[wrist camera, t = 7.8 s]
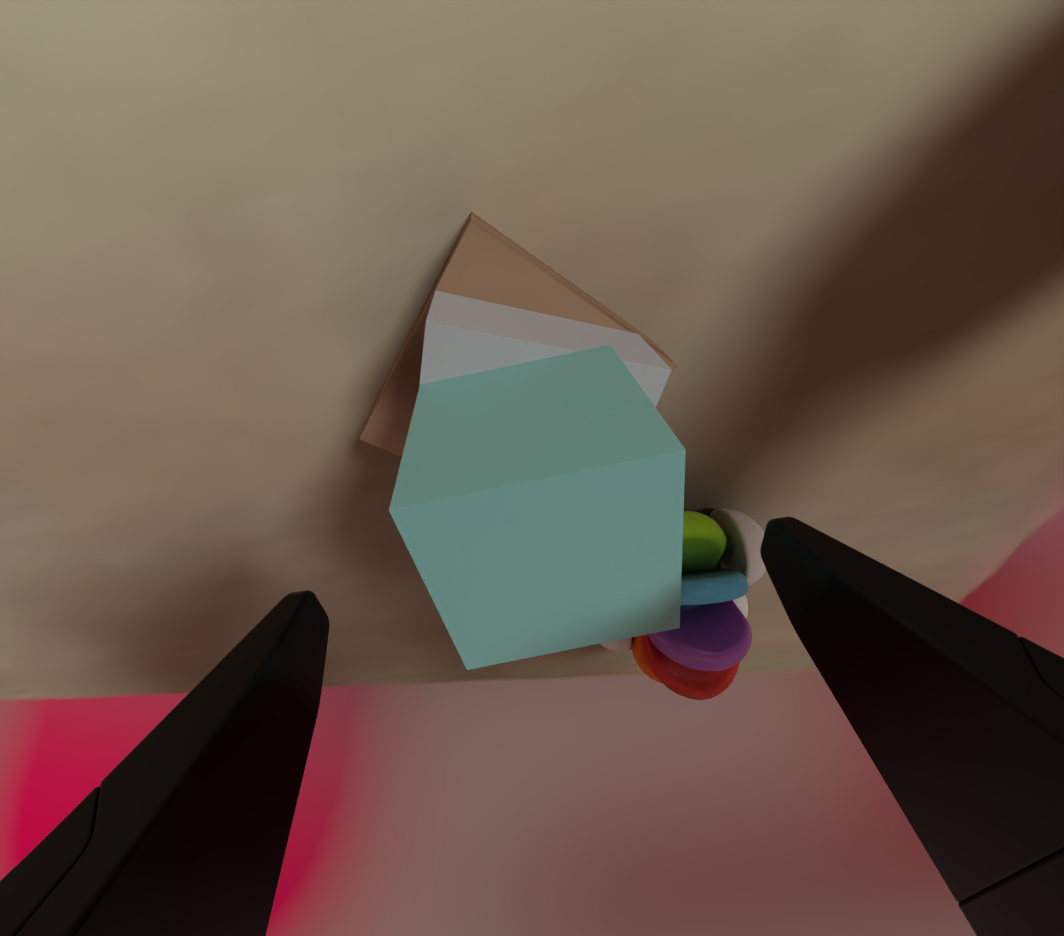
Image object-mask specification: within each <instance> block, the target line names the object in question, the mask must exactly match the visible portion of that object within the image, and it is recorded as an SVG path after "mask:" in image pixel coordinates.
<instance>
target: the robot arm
mask: <svg viewBox="0 0 1064 936" xmlns="http://www.w3.org/2000/svg"><path fill="white" fill-rule="evenodd" d="M760 553H761V558H762V561H763V563H764V565H765V567H766V570H767V572H768V574H769V576H770V578H771V580H772V583H773V585H774V587H775V589H776V591H777V593H778V596H779V598H780V600H781V602H782V604H783V606H784V609H785V611H786V613H787V615H788V617H789V619H790V621H791V623H792V625H793V627H794V629H795V631H796V633H797V635H798V636H799V638H800V640H801V642H802V643H803V645H804V647H805V648H806V650H807V652H808V653H809V655H810V657H811V658H812V660H813V662H814V663H815V665H816V667H817V668H818V670H819V672H820V673H821V675H822V677H823V678H824V680H825V682H826V683H827V685H828V687H829V688H830V690H831V692H832V693H833V695H834V697H835V699H836V700H837V702H838V703H839V705H840V707H841V709H842V710H843V712H844V714H845V715H846V717H847V719H848V720H849V722H850V724H851V725H852V727H853V729H854V730H855V732H856V734H857V735H858V737H859V739H860V740H861V742H862V744H863V745H864V747H865V749H866V750H867V752H868V754H869V755H870V757H871V759H872V760H873V762H874V764H875V766H876V767H877V769H878V771H879V772H880V774H881V776H882V777H883V779H884V781H885V782H886V784H887V785H888V787H889V789H890V790H891V792H892V794H893V796H894V797H895V799H896V800H897V802H898V804H899V806H900V807H901V809H902V811H903V812H904V814H905V816H906V817H907V819H908V821H909V822H910V824H911V826H912V827H913V829H914V831H915V832H916V834H917V836H918V837H919V839H920V841H921V842H922V844H923V846H924V848H925V849H926V851H927V853H928V854H929V856H930V858H931V859H932V861H933V863H934V864H935V866H936V868H937V869H938V871H939V872H940V874H941V876H942V878H943V879H944V881H945V882H946V884H947V886H948V888H949V889H950V891H951V893H952V894H953V896H954V898H955V899H956V901H958V902H959V907H960V908H961V910H962V912H963V914H964V915H965V917H966V919H967V920H968V922H969V923H970V925H971V927H972V929H973V930H974V932H975V934H976V935H977V936H1064V658H1062V657H1060V656H1059V655H1056V654H1055V653H1053V652H1050V651H1049V650H1047V649H1044V648H1043V647H1041V646H1039V645H1037V644H1035V643H1033V642H1032V641H1029V640H1028V639H1026V638H1024V637H1018V636H1017V634H1016V633H1014V632H1012V631H1010V630H1008V629H1006V628H1004V627H1002V626H1001V625H999V624H997V623H995V622H993V621H991V620H989V619H987V618H985V617H983V616H981V615H979V614H978V613H975V612H974V611H972V610H970V609H968V608H966V607H964V606H962V605H960V604H958V603H956V602H955V601H953V600H951V599H949V598H947V597H945V596H943V595H941V594H939V593H937V592H935V591H933V590H932V589H930V588H928V587H926V586H924V585H922V584H920V583H918V582H916V581H914V580H912V579H910V578H909V577H907V576H905V575H903V574H901V573H899V572H897V571H895V570H893V569H891V568H889V567H887V566H886V565H884V564H882V563H880V562H878V561H876V560H874V559H872V558H870V557H868V556H866V555H864V554H863V553H861V552H859V551H857V550H855V549H853V548H851V547H849V546H847V545H845V544H843V543H841V542H840V541H838V540H836V539H834V538H832V537H830V536H828V535H826V534H824V533H822V532H820V531H818V530H817V529H815V528H813V527H811V526H809V525H807V524H805V523H803V522H801V521H799V520H797V519H795V518H793V517H783V518H777V519H772V520H770V521H769V522H768V523H767V526H766V530H765V533H764V537H763V540H762V544H761V548H760ZM328 633H329V619H328V616H327V614H326V612H325V610H324V609H323V607H322V605H321V604H320V602H319V601H318V599H317V597H316V596H315V594H314V593H313V592H312V591H308V590H307V591H300V592H293V593H290V594H288V595H286V596H285V597H284V598H283V599H282V600H281V601H280V602H279V603H278V604H277V605H276V606H275V607H274V608H273V609H272V610H271V611H270V612H269V613H268V614H267V615H266V616H265V617H264V618H263V619H262V620H261V621H260V622H259V623H258V624H257V625H256V626H255V627H254V628H253V629H252V630H251V631H250V632H249V633H248V634H247V635H246V636H245V637H244V638H243V639H242V640H241V641H240V642H239V643H238V644H237V645H236V646H235V647H234V648H233V649H232V650H231V651H230V652H229V653H228V654H227V655H226V656H225V657H224V658H223V659H222V660H221V661H220V662H219V664H218V665H217V666H216V667H215V668H214V669H213V670H212V671H211V672H210V673H209V674H208V675H207V676H206V677H205V678H204V679H203V680H202V681H201V682H200V683H199V684H198V685H197V686H196V687H195V688H194V689H193V690H192V691H191V692H190V693H189V694H188V695H187V696H186V697H185V698H184V699H183V700H182V701H181V702H180V703H179V704H178V705H177V706H176V707H175V708H174V709H173V710H172V711H171V712H170V713H169V714H168V715H167V716H166V717H165V718H164V719H163V720H162V721H161V722H160V723H159V724H158V725H157V726H156V727H155V728H154V729H153V730H152V731H151V732H150V733H149V734H148V735H147V736H146V737H145V738H144V739H143V740H142V741H141V742H140V743H139V744H138V745H137V746H136V747H135V748H134V749H133V750H132V751H131V752H130V753H129V754H128V756H127V757H125V759H124V760H122V762H121V763H120V764H119V765H118V766H117V767H116V768H115V769H114V770H113V771H112V772H111V773H110V774H109V775H108V776H107V777H106V778H105V779H104V780H103V781H102V782H101V786H100V787H96V788H95V789H94V790H93V791H92V792H91V793H90V794H89V795H88V796H87V797H86V798H85V799H84V800H83V801H82V802H81V803H80V804H79V805H78V806H77V807H76V808H75V809H74V810H73V811H72V812H71V813H70V814H69V815H68V816H67V817H66V818H65V819H64V820H63V821H62V822H61V823H60V824H59V825H58V826H57V827H56V828H55V829H54V830H53V831H52V832H51V833H50V834H48V835H47V836H46V838H45V839H43V840H42V841H41V842H40V843H39V844H38V846H36V847H35V848H34V849H33V850H32V851H31V852H30V853H29V854H28V855H27V856H26V857H25V858H24V859H23V860H22V861H21V862H20V863H19V864H18V865H17V866H16V867H14V869H12V870H11V871H10V872H9V873H8V874H7V875H6V876H5V877H4V878H3V879H2V880H1V881H0V936H265V935H266V931H267V927H268V923H269V919H270V914H271V910H272V906H273V901H274V897H275V893H276V889H277V884H278V880H279V876H280V872H281V867H282V863H283V859H284V855H285V850H286V846H287V842H288V838H289V833H290V829H291V825H292V821H293V816H294V812H295V807H296V803H297V799H298V795H299V791H300V787H301V782H302V778H303V774H304V769H305V765H306V761H307V757H308V752H309V748H310V744H311V740H312V735H313V731H314V727H315V723H316V718H317V713H318V709H319V703H320V697H321V690H322V682H323V674H324V666H325V658H326V650H327V641H328Z"/></svg>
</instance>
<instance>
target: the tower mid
mask: <svg viewBox="0 0 1064 936" xmlns="http://www.w3.org/2000/svg"><path fill="white" fill-rule="evenodd" d="M606 345H611V346H612V347H613V349H614V350H615V352H616V353H617V354H618V356H619V357H620V359H621V360H622V361H623V363H624V364H625V366H626V367H627V368H628V370H629V371H630V373H631V374H632V375H633V377H634V378H635V380H636V381H637V382H638V384H639V385H640V387H641V388H642V389H643V391H644V392H645V394H646V395H647V396H648V398H649V399H650V401H651V402H652V403H653V405H654V406H655V408H656V406H657V403H658V401H659V399H660V396H661V394H662V392H663V389H664V387H665V385H666V382H667V380H668V378H669V375H670V373H671V371H672V370H671V368H670V367H669V366H668V365H667V364H666V363H665V362H664V361H663V360H662V359H661V358H660V357H659V355H658V354H657V353H656V352H655V351H654V350H653V349H652V348H651V347H650V346H649V345H648V344H647V342H646V341H645V340H644V339H643V338H642V337H641V336H640V335H639V334H637V333H632V332H627V331H622V330H617V329H613V328H608V327H603V326H599V325H594V324H589V323H585V322H580V321H575V320H571V319H566V318H561V317H557V316H552V315H547V314H543V313H538V312H533V311H529V310H524V309H519V308H515V307H510V306H505V305H501V304H496V303H491V302H487V301H482V300H477V299H473V298H468V297H463V296H459V295H454V294H449V293H445V292H440V291H435V293H434V297H433V300H432V303H431V306H430V309H429V313H428V316H427V319H426V325H425V335H424V344H423V354H422V364H421V374H420V384H425V383H430V382H434V381H439V380H444V379H449V378H453V377H458V376H463V375H468V374H472V373H477V372H482V371H487V370H491V369H496V368H501V367H506V366H511V365H515V364H520V363H525V362H530V361H534V360H539V359H544V358H549V357H553V356H558V355H563V354H568V353H572V352H577V351H582V350H587V349H591V348H596V347H601V346H606ZM420 384H419V387H420Z"/></svg>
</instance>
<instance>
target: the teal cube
mask: <svg viewBox="0 0 1064 936" xmlns="http://www.w3.org/2000/svg"><path fill="white" fill-rule="evenodd" d="M685 453H686V449H685V448H684V447H683V445H682V444H681V442H680V441H679V440H678V438H677V437H676V435H675V434H674V433H673V431H672V430H671V428H670V427H669V426H668V424H667V423H666V421H665V420H664V419H663V417H662V416H661V415H660V413H659V412H658V410H657V409H656V408H655V406H654V405H653V403H652V402H651V401H650V399H649V398H648V396H647V395H646V394H645V392H644V391H643V389H642V388H641V387H640V385H639V384H638V382H637V381H636V380H635V378H634V377H633V375H632V374H631V373H630V371H629V370H628V368H627V367H626V366H625V364H624V363H623V361H622V360H621V359H620V357H619V356H618V354H617V353H616V352H615V350H614V349H613V347H612V346H611V345H606V346H601V347H596V348H591V349H587V350H582V351H577V352H572V353H568V354H563V355H558V356H553V357H549V358H544V359H539V360H534V361H530V362H525V363H520V364H515V365H511V366H506V367H501V368H496V369H491V370H487V371H482V372H477V373H472V374H468V375H463V376H458V377H453V378H449V379H444V380H439V381H434V382H430V383H425V384H420V387H419V391H418V395H417V399H416V403H415V407H414V411H413V415H412V419H411V423H410V427H409V431H408V435H407V439H406V443H405V447H404V451H403V455H402V459H401V463H400V467H399V471H398V475H397V479H396V483H395V487H394V491H393V495H392V499H391V503H390V507H389V512H390V514H391V516H392V518H393V520H394V522H395V524H396V526H397V528H398V530H399V532H400V534H401V537H402V539H403V541H404V543H405V545H406V547H407V549H408V551H409V553H410V555H411V557H412V559H413V561H414V563H415V565H416V567H417V569H418V571H419V573H420V575H421V577H422V579H423V581H424V583H425V585H426V587H427V589H428V592H429V594H430V596H431V598H432V600H433V602H434V604H435V606H436V608H437V610H438V612H439V614H440V616H441V618H442V620H443V622H444V624H445V626H446V628H447V630H448V632H449V634H450V636H451V638H452V640H453V642H454V645H455V647H456V649H457V651H458V653H459V655H460V657H461V659H462V661H463V663H464V665H465V667H466V669H467V670H470V669H475V668H480V667H485V666H490V665H495V664H500V663H505V662H510V661H515V660H520V659H525V658H530V657H535V656H541V655H546V654H551V653H556V652H561V651H566V650H571V649H576V648H581V647H586V646H591V645H596V644H601V643H606V642H611V641H616V640H621V639H627V638H632V637H637V636H642V635H647V634H652V633H657V632H662V631H667V630H672V629H677V628H680V603H681V573H682V543H683V513H684V483H685Z"/></svg>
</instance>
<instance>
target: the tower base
mask: <svg viewBox="0 0 1064 936" xmlns="http://www.w3.org/2000/svg"><path fill="white" fill-rule="evenodd" d="M435 291H440V292H445V293H449V294H454V295H459V296H463V297H468V298H473V299H477V300H482V301H487V302H491V303H496V304H501V305H505V306H510V307H515V308H519V309H524V310H529V311H533V312H538V313H543V314H547V315H552V316H557V317H561V318H566V319H571V320H575V321H580V322H585V323H589V324H594V325H599V326H603V327H608V328H613V329H617V330H622V331H627V332H632V333H637V334H639V335H640V336H641V337H642V338H643V339H644V340H645V341H646V342H647V344H648V345H649V346H650V347H651V348H652V349H653V350H654V351H655V352H656V353H657V354H658V355H659V357H660V358H661V359H662V360H663V361H664V362H665V363H666V364H667V365H668V366H669V367H670V368H671V370H672V371H673V370H674V369H675V368H676V367H677V365H676V364H675V363H674V362H673V361H672V360H671V359H670V358H669V357H668V356H667V355H666V354H665V353H664V352H663V351H662V350H661V349H660V348H659V347H658V345H657V344H656V343H655V342H654V341H653V340H651V339H650V338H649V337H647V336H646V335H644V334H643V333H642V332H640V331H639V330H637V329H636V328H634V327H633V326H632V325H630V324H629V323H627V322H626V321H625V320H623V319H622V318H620V317H619V316H618V315H616V314H615V313H613V312H612V311H611V310H609V309H608V308H606V307H605V306H604V305H602V304H601V303H599V302H598V301H596V300H595V299H594V298H592V297H591V296H589V295H588V294H587V293H585V292H584V291H582V290H581V289H580V288H578V287H577V286H575V285H574V284H573V283H571V282H570V281H568V280H567V279H566V278H564V277H563V276H561V275H560V274H558V273H557V272H556V271H554V270H553V269H551V268H550V267H549V266H547V265H546V264H544V263H543V262H542V261H540V260H539V259H537V258H536V257H535V256H533V255H532V254H530V253H529V252H528V251H526V250H525V249H523V248H522V247H520V246H519V245H518V244H516V243H515V242H513V241H512V240H511V239H509V238H508V237H506V236H505V235H504V234H502V233H501V232H499V231H498V230H497V229H495V228H494V227H492V226H491V225H489V224H488V223H487V222H485V221H484V220H482V219H481V218H480V217H478V216H477V215H475V214H474V213H473V212H471V214H470V216H469V218H468V220H467V222H466V224H465V226H464V228H463V230H462V232H461V234H460V236H459V238H458V240H457V242H456V244H455V246H454V248H453V249H452V251H451V253H450V255H449V257H448V259H447V261H446V263H445V265H444V267H443V269H442V271H441V273H440V275H439V277H438V279H437V281H436V283H435V285H434V287H433V289H432V291H431V293H430V295H429V297H428V299H427V301H426V303H425V305H424V307H423V309H422V311H421V313H420V315H419V317H418V319H417V320H416V322H415V324H414V326H413V328H412V330H411V332H410V334H409V336H408V338H407V340H406V342H405V344H404V346H403V348H402V350H401V352H400V354H399V356H398V358H397V360H396V362H395V364H394V366H393V368H392V370H391V372H390V374H389V376H388V378H387V380H386V382H385V384H384V386H383V388H382V390H381V391H380V393H379V395H378V397H377V399H376V401H375V403H374V405H373V408H372V410H371V412H370V415H369V417H368V419H367V422H366V424H365V427H364V429H363V431H362V434H361V436H360V438H359V439H360V440H362V441H364V442H367V443H369V444H371V445H373V446H376V447H378V448H380V449H383V450H385V451H387V452H389V453H392V454H394V455H396V456H399V457H401V458H402V455H403V451H404V447H405V443H406V439H407V435H408V431H409V427H410V423H411V419H412V415H413V411H414V407H415V403H416V399H417V395H418V391H419V384H420V374H421V364H422V354H423V344H424V335H425V325H426V319H427V316H428V313H429V309H430V306H431V303H432V300H433V297H434V293H435ZM672 371H671V373H672ZM671 373H670V374H671Z"/></svg>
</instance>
